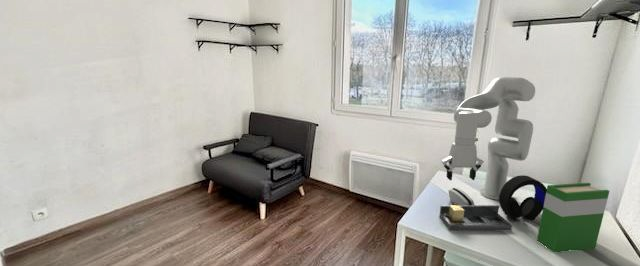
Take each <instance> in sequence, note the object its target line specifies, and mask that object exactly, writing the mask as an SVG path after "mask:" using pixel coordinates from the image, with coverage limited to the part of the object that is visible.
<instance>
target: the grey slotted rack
mask: <svg viewBox="0 0 640 266" xmlns="http://www.w3.org/2000/svg"><path fill="white" fill-rule="evenodd" d="M450 205H451V204H449V205H448V204H444V205H443V204H440V206H439V216H438V218H440V220H441V221H442V222H443V224H444V226H445V227H446V228H447V229H448V230H449V231H459V232H461V231H469V232H470V231H472V232H473V231H478V232H479V231H480V232H482V231H485V232H488V231H489V232H492V231H494V232H496V231H495V230H511V231H512V227H513V225H512V224H511V223H510V222H509V221H508V220H506V219H505V218H504V217H503V216H502V215H500V214H499V211H500V210H499V209H500V206H499V205H497V204H495V205H489V204H487V205H486V204H485V205H483V204H482V205H481V204H479V205H476V204H474V205H460V206H461V207H462V208H463V209H464V217H463V223H451V221H450V220H449V219H448V215H449V206H450ZM475 220H478V221H477V222H471V221H475ZM493 220H494V222H492V221H493ZM497 221H498V222H497Z"/></svg>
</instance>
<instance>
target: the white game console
mask: <svg viewBox="0 0 640 266" xmlns="http://www.w3.org/2000/svg"><path fill="white" fill-rule="evenodd" d="M447 192H448V196H449V200H450V201H451V202H452V203H453V204H454V205H475V202H474V200H473V198H472V197H471V196H469V194H468V193H466V192H465V191H463V190H462V189H460V188H459V187H452V188H450V189H448V191H447Z"/></svg>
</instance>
